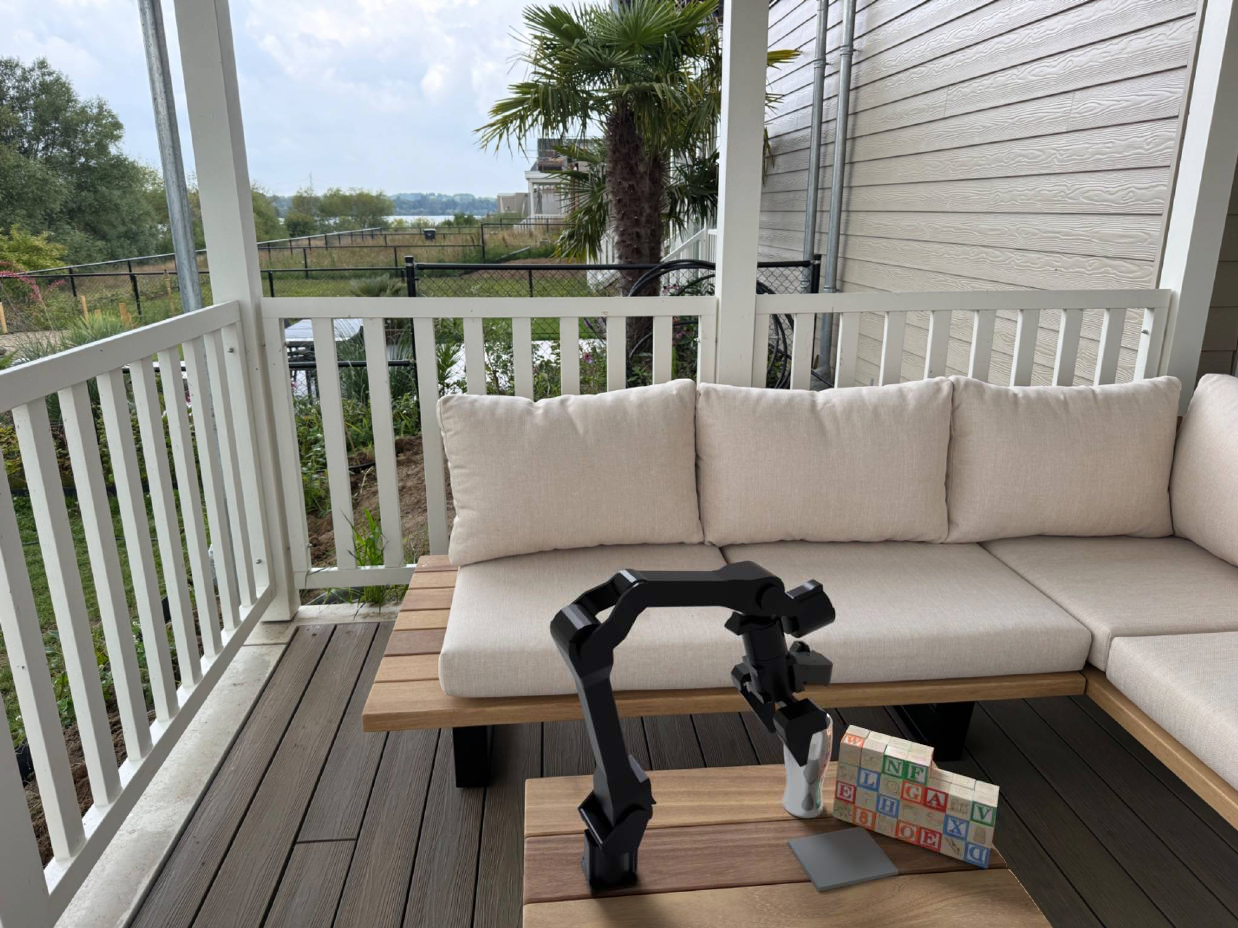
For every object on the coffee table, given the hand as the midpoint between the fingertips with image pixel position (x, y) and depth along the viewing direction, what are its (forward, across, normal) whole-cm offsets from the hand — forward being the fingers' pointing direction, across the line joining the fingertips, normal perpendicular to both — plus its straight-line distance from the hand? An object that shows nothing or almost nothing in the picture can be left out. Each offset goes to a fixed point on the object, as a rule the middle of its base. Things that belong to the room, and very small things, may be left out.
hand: (787, 748), depth 114 cm
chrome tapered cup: (+14, +5, -2) cm, 15 cm away
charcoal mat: (+15, -6, -2) cm, 16 cm away
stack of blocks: (+18, -4, -14) cm, 23 cm away
